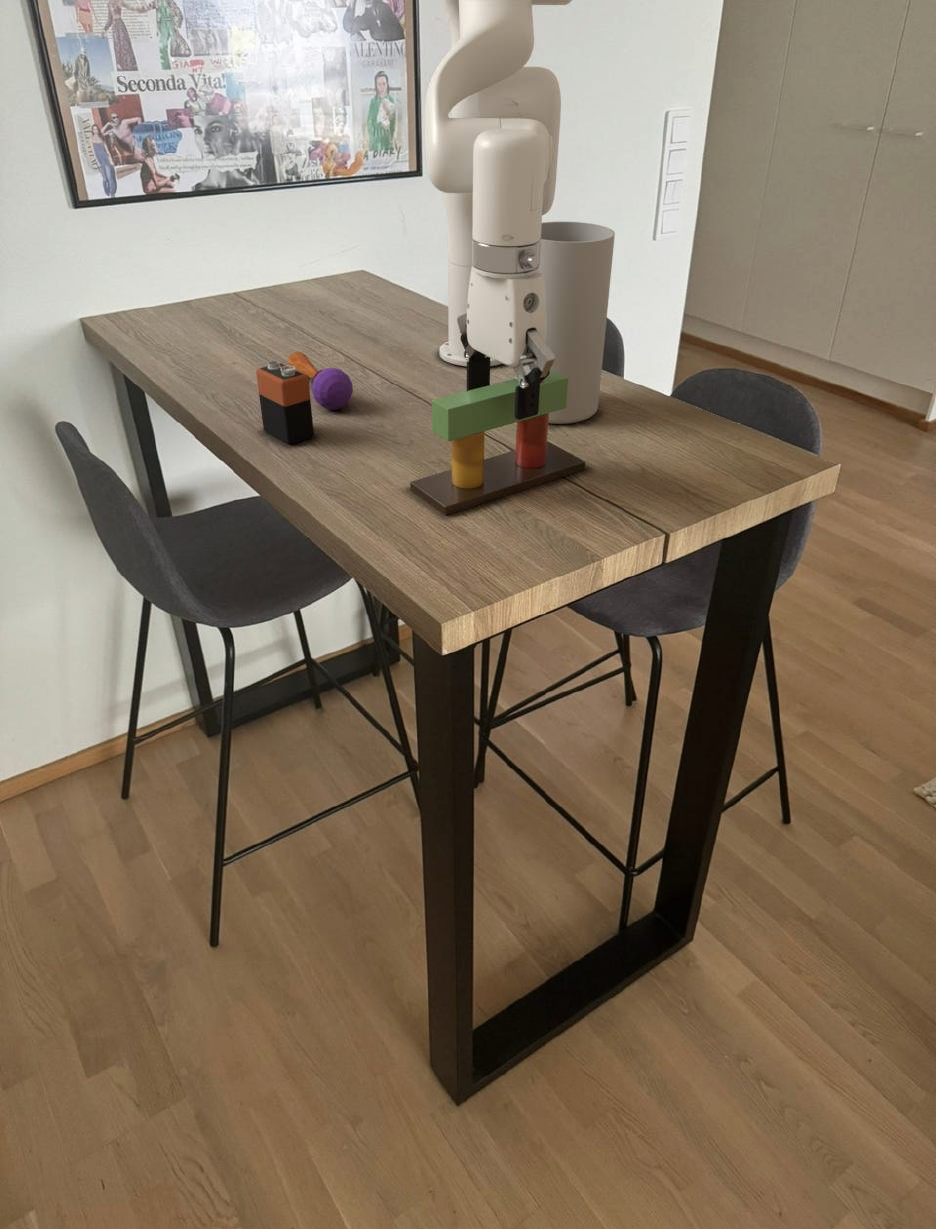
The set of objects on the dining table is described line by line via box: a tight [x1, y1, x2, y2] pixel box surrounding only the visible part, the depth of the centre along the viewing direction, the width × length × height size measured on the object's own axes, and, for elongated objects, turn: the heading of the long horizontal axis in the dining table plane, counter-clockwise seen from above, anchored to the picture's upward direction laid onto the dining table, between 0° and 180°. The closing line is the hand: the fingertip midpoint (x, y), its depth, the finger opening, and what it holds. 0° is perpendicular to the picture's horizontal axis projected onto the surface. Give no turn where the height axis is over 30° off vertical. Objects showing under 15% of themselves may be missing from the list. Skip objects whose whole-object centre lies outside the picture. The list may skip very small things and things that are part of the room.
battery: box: [255, 360, 315, 445], centre depth 123 cm, size 4×7×10 cm, turn 43°
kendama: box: [287, 351, 354, 411], centre depth 137 cm, size 6×6×20 cm
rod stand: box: [409, 413, 586, 516], centre depth 112 cm, size 22×8×8 cm, turn 125°
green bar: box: [431, 370, 568, 442], centre depth 109 cm, size 18×4×4 cm, turn 125°
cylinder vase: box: [514, 221, 616, 425], centre depth 127 cm, size 12×12×25 cm
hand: (501, 403), depth 109 cm, fingers open, 9 cm apart
